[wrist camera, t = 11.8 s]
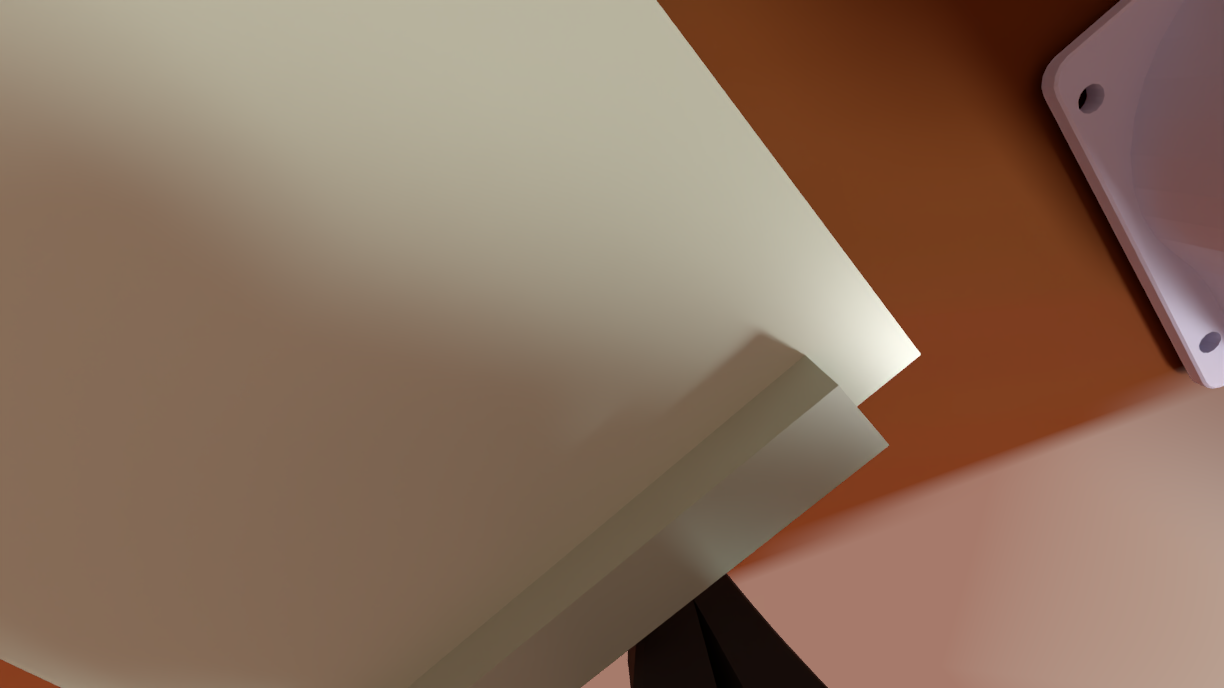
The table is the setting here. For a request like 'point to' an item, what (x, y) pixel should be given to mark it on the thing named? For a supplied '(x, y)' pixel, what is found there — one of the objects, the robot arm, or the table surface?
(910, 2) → the table surface
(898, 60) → the table surface
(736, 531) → the lid
